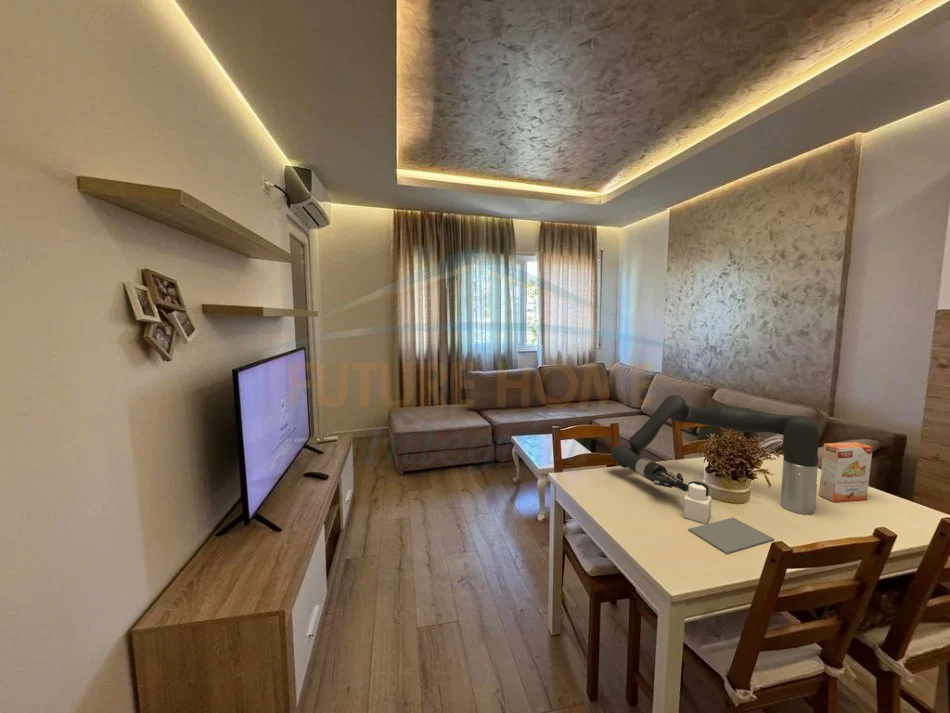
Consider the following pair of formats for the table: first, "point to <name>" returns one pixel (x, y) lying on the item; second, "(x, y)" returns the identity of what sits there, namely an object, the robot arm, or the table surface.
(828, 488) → the cracker box
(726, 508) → the table surface
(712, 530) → the placemat
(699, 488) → the medicine bottle
